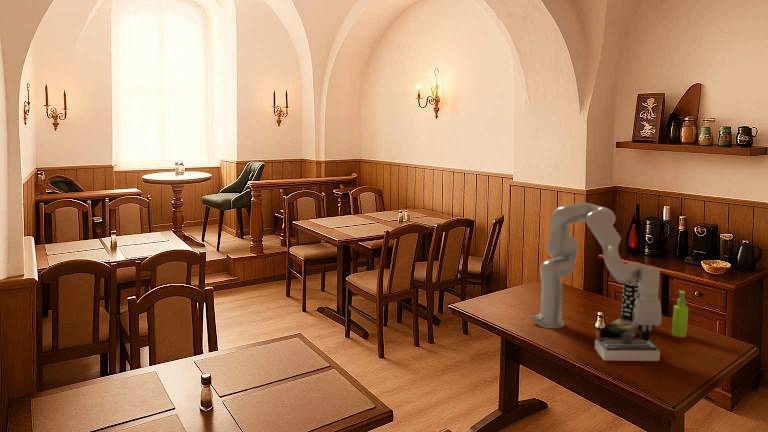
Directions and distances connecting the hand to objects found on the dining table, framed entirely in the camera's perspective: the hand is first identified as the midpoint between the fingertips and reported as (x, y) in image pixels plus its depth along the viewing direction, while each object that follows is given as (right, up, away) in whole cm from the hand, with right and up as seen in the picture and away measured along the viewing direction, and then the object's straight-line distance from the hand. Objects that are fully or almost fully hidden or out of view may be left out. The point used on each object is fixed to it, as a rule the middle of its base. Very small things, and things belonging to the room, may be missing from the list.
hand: (645, 339), depth 237 cm
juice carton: (-2, -4, +20) cm, 20 cm away
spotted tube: (+9, -1, +34) cm, 36 cm away
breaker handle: (-7, -3, +1) cm, 8 cm away
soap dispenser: (+25, -3, +22) cm, 33 cm away
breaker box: (-7, -7, +2) cm, 10 cm away
